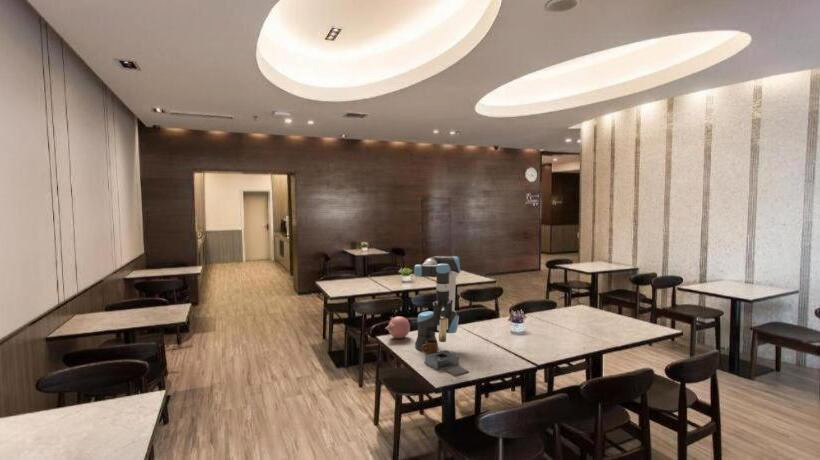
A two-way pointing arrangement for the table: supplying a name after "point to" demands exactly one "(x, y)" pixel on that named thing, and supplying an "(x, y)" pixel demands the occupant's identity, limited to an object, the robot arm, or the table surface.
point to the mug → (430, 347)
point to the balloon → (398, 327)
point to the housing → (441, 359)
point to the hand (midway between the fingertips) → (442, 329)
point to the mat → (456, 370)
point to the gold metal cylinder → (442, 330)
